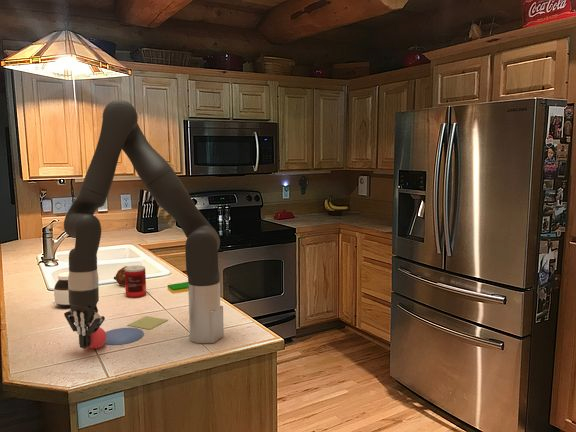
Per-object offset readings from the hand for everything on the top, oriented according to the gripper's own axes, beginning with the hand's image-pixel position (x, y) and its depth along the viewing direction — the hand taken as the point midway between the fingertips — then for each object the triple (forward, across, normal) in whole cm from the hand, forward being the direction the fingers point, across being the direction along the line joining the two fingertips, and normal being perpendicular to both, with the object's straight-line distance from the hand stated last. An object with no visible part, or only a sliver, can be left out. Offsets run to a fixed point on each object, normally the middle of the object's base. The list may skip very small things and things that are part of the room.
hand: (84, 347), depth 128 cm
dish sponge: (+1, +10, -63) cm, 63 cm away
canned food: (+1, +23, -48) cm, 53 cm away
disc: (+1, -1, -14) cm, 14 cm away
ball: (-1, 0, -4) cm, 4 cm away
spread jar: (+2, +39, -30) cm, 49 cm away
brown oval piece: (+1, +37, -58) cm, 69 cm away
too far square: (+1, -1, -26) cm, 26 cm away
